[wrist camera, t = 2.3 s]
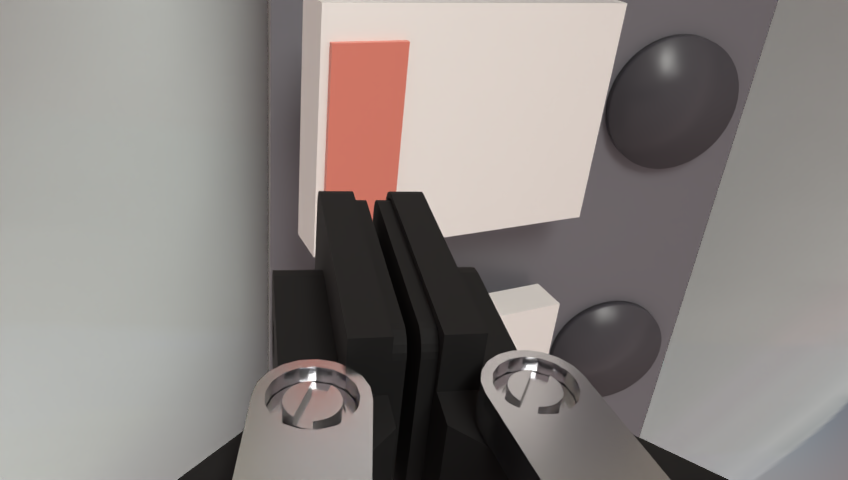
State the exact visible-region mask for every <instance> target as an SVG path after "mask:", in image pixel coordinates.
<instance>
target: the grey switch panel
mask: <svg viewBox="0 0 848 480" xmlns="http://www.w3.org/2000/svg"><path fill="white" fill-rule="evenodd" d="M619 1H622V2H625V3H627V7H626V12H625V16H624V21H623V25H622V30H621V34H620V38H619V43H618V47H617V52H616V56H615V61H614V65H613V70H612V74H611V78H610V83H609V87H608V92H607V96H606V101H605V105H604V110H603V114H602V119H601V123H600V127H599V132H598V136H597V141H596V145H595V150H594V154H593V159H592V163H591V167H590V172H589V176H588V181H587V185H586V190H585V194H584V199H583V203H582V208H581V212H580V216H579V217H576V218H569V219H563V220H556V221H550V222H543V223H536V224H530V225H523V226H517V227H510V228H503V229H497V230H490V231H484V232H477V233H470V234H464V235H457V236H451V237H444V239H445V241H446V243H447V245H448V248H449V250H450V252H451V254H452V256H453V258H454V260H455V263H456V265H457V267H474V268H475V269H476V270H477V272H478V274H479V275H480V277H481V279H482V281H483V283H484V285H485V287H486V289H487V291H488V293H492V292H497V291H502V290H508V289H513V288H518V287H523V286H528V285H533V284H539V285H540V286H541V287H542V288H543V289H544V290H546V291H547V292H548V293H549V294H550V295H551V296H552V297H553V298H554V299H555V300H556V301H557V302H559V303H560V305H559V310H558V314H557V319H556V323H555V328H554V332H553V337H552V341H551V346H550V350H549V355H552V356H555V357H558V358H560V359H562V360H564V361H566V362H567V363H569V364H571V365H573V366H574V367H575V368H576V369H577V370H579V371H580V372H581V373H582V374H583V375H584V376H585V377H586V378H587V380H588V381H589V382H590V383H591V384H592V386H593V387H594V388H595V389H596V390H597V392H598V393H599V394H600V395H601V396H602V398H603V399H604V400H605V401H606V402H607V404H608V405H609V406H610V407H611V408H612V410H613V411H614V412H615V413H616V415H617V416H618V417H619V418H620V419H621V421H622V422H623V423H624V424H625V425H626V427H627V428H628V429H629V430H630V431H631V433H632V434H633V435H635V436H637V437H639V436H640V433H641V429H642V426H643V423H644V420H645V417H646V414H647V411H648V407H649V404H650V401H651V398H652V395H653V392H654V389H655V385H656V382H657V379H658V376H659V373H660V370H661V367H662V363H663V360H664V357H665V354H666V351H667V348H668V345H669V341H670V338H671V335H672V332H673V329H674V326H675V323H676V319H677V316H678V313H679V310H680V307H681V304H682V301H683V297H684V294H685V291H686V288H687V285H688V282H689V279H690V276H691V272H692V269H693V266H694V263H695V260H696V257H697V254H698V250H699V247H700V244H701V241H702V238H703V235H704V232H705V228H706V225H707V222H708V219H709V216H710V213H711V210H712V206H713V203H714V200H715V197H716V194H717V191H718V188H719V184H720V181H721V178H722V175H723V172H724V169H725V166H726V162H727V159H728V156H729V153H730V150H731V147H732V144H733V140H734V137H735V134H736V131H737V128H738V125H739V122H740V119H741V115H742V112H743V109H744V106H745V103H746V100H747V97H748V93H749V90H750V87H751V84H752V81H753V78H754V75H755V71H756V68H757V65H758V62H759V59H760V56H761V53H762V49H763V46H764V43H765V40H766V37H767V34H768V31H769V27H770V24H771V21H772V18H773V15H774V12H775V9H776V5H777V2H778V0H619ZM302 27H303V0H268V372H269V371H271V370H273V363H272V270H312V269H315V257H313V256H312V254H311V253H310V251H309V250H308V248H307V247H306V245H305V244H304V242H303V241H302V239H301V238H300V236H299V235H298V212H299V166H300V119H301V73H302Z"/></svg>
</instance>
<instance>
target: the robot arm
mask: <svg viewBox="0 0 848 480" xmlns="http://www.w3.org/2000/svg"><path fill="white" fill-rule="evenodd" d="M272 363H273V370H271V371H269V372H267V373H266V374H265V375H264V376H263V377H262V378H261V379H260V380H259V381H258V382H257V384H256V386H255V388H254V390H253V392H252V395H251V399H250V404H249V408H248V413H247V417H246V421H245V426H244V430H243V432H241V433H240V434H239V435H237V436H236V437H235V438H233V439H232V440H230V441H229V442H228V443H226V444H225V445H224V446H222V447H221V448H220V449H218V450H217V451H216V452H214V453H213V454H212V455H210V456H209V457H207V458H206V459H205V460H203V461H202V462H201V463H199V464H198V465H197V466H195V467H194V468H193V469H191V470H190V471H189V472H187V473H186V474H184V475H183V476H182V477H180V478H179V479H178V480H728V479H726V478H724V477H722V476H720V475H717V474H715V473H713V472H711V471H709V470H707V469H705V468H703V467H700V466H698V465H696V464H694V463H692V462H690V461H688V460H686V459H683V458H681V457H679V456H677V455H675V454H673V453H671V452H669V451H667V450H664V449H662V448H660V447H658V446H656V445H654V444H652V443H650V442H647V441H645V440H643V439H641V438H639V437H637V436H635V435H633V434H632V433H631V431H630V430H629V429H628V428H627V427H626V425H625V424H624V423H623V422H622V421H621V419H620V418H619V417H618V416H617V415H616V413H615V412H614V411H613V410H612V408H611V407H610V406H609V405H608V404H607V402H606V401H605V400H604V399H603V398H602V396H601V395H600V394H599V393H598V392H597V390H596V389H595V388H594V387H593V386H592V384H591V383H590V382H589V381H588V380H587V378H586V377H585V376H584V375H583V374H582V373H581V372H580V371H579V370H577V369H576V368H575V367H574V366H573V365H571V364H569V363H567V362H566V361H564V360H562V359H560V358H558V357H555V356H552V355H549V354H546V353H543V352H537V351H530V350H517V349H516V347H515V345H514V343H513V341H512V339H511V337H510V335H509V333H508V331H507V329H506V327H505V325H504V323H503V321H502V319H501V317H500V315H499V313H498V311H497V309H496V307H495V305H494V303H493V301H492V299H491V297H490V295H489V293H488V291H487V289H486V287H485V285H484V283H483V281H482V279H481V277H480V275H479V274H478V272H477V270H476V269H475V268H474V267H457V265H456V263H455V260H454V258H453V256H452V254H451V252H450V250H449V248H448V245H447V243H446V241H445V239H444V237H443V235H442V233H441V230H440V228H439V226H438V224H437V222H436V220H435V217H434V215H433V213H432V211H431V209H430V207H429V205H428V202H427V200H426V198H425V196H424V194H423V193H422V192H396V191H390V192H388V193H387V196H386V200H376V201H375V204H374V211H373V220H372V217H371V214H370V210H369V207H368V204H367V201H366V200H356V199H355V196H354V193H353V191H319V192H318V198H317V221H316V249H315V269H312V270H272Z"/></svg>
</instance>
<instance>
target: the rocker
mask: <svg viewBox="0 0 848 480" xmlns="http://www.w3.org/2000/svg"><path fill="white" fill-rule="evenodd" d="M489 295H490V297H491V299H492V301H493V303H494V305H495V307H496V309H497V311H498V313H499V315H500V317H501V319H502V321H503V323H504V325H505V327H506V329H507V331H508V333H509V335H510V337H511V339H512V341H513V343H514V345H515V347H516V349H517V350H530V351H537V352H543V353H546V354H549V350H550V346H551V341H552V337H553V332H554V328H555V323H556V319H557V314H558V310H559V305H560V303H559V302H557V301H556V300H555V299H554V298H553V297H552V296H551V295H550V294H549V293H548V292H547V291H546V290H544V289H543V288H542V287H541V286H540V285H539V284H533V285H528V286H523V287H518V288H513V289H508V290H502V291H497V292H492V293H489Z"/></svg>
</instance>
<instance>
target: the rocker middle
mask: <svg viewBox="0 0 848 480" xmlns="http://www.w3.org/2000/svg"><path fill="white" fill-rule="evenodd" d="M626 7H627V3H625V2H622V1H619V0H303V27H302V73H301V119H300V166H299V212H298V235H299V236H300V238H301V239H302V241H303V242H304V244H305V245H306V247H307V248H308V250H309V251H310V253H311V254H312V256H313V257H315V249H316V221H317V198H318V192H319V191H353V193H354V196H355V199H356V200H366V201H367V204H368V207H369V210H370V214H371V217H372V220H373V211H374V204H375V201H376V200H386V196H387V193H388V192H390V191H396V192H422V193H423V194H424V196H425V198H426V200H427V202H428V205H429V207H430V209H431V211H432V213H433V215H434V217H435V220H436V222H437V224H438V226H439V228H440V230H441V233H442V235H443V237H451V236H457V235H464V234H470V233H477V232H484V231H490V230H497V229H503V228H510V227H517V226H523V225H530V224H536V223H543V222H550V221H556V220H563V219H569V218H576V217H579V216H580V212H581V208H582V203H583V199H584V194H585V190H586V185H587V181H588V176H589V172H590V167H591V163H592V159H593V154H594V150H595V145H596V141H597V136H598V132H599V127H600V123H601V119H602V114H603V110H604V105H605V101H606V96H607V92H608V87H609V83H610V78H611V74H612V70H613V65H614V61H615V56H616V52H617V47H618V43H619V38H620V34H621V30H622V25H623V21H624V16H625V12H626Z"/></svg>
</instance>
